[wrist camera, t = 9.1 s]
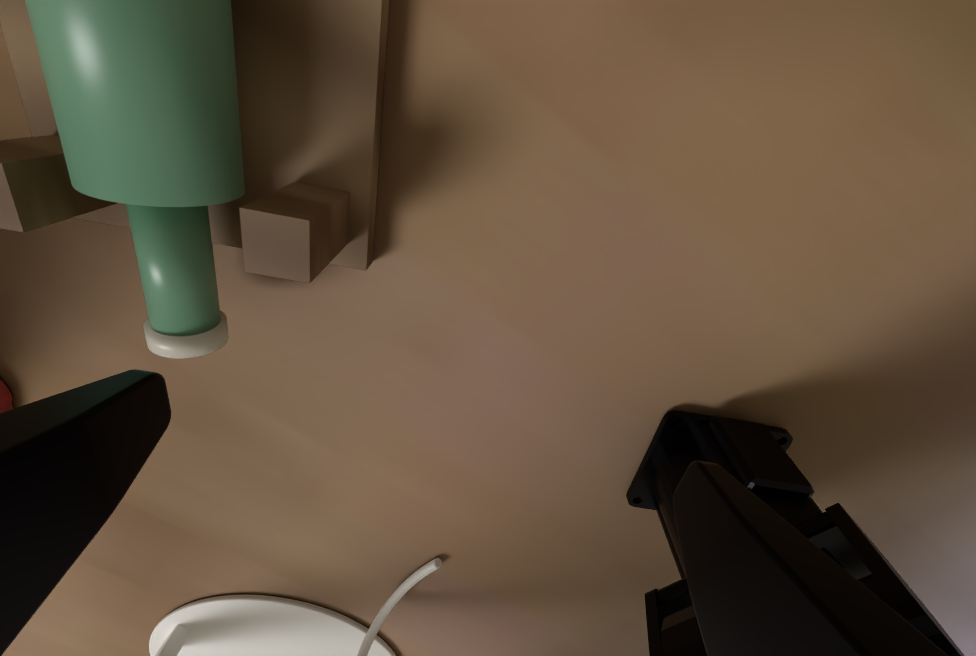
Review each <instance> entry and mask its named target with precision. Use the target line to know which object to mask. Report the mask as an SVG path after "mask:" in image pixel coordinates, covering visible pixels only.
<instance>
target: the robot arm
mask: <svg viewBox="0 0 976 656" xmlns="http://www.w3.org/2000/svg"><path fill="white" fill-rule="evenodd" d="M170 419H171V408H170V403H169V398H168V393H167V388H166V383H165V379H164V378H163V376H162V375H161V374H158V373H155V372H149V371H143V370H129V371H126V372H123V373H120V374H117V375H114V376H111V377H108V378H105V379H102V380H99V381H96V382H93V383H90V384H87V385H84V386H81V387H78V388H75V389H72V390H69V391H66V392H63V393H59V394H56V395H53V396H50V397H47V398H44V399H41V400H38V401H35V402H32V403H29V404H26V405H23V406H20V407H17V408H14V409H11V410H8V411H5V412H2V413H0V656H2V654H3V653H4V652H5V650H6V649H7V648H8V647H9V645H10V644H11V643H12V641H13V640H14V639H15V638H16V636H17V635H18V634H19V633H20V631H21V630H22V629H23V627H24V626H25V625H26V624H27V622H28V621H29V620H30V618H31V617H32V616H33V615H34V613H35V612H36V611H37V609H38V608H39V607H40V606H41V604H42V603H43V602H44V601H45V599H46V598H47V597H48V595H49V594H50V593H51V592H52V590H53V589H54V588H55V586H56V585H57V584H58V583H59V581H60V580H61V579H62V577H63V576H64V575H65V574H66V572H67V571H68V570H69V568H70V567H71V566H72V565H73V563H74V562H75V561H76V560H77V558H78V557H79V556H80V554H81V553H82V552H83V551H84V549H85V548H86V547H87V545H88V544H89V543H90V542H91V540H92V539H93V538H94V536H95V535H96V534H97V533H98V531H99V530H100V529H101V527H102V526H103V525H104V524H105V522H106V521H107V519H108V518H109V517H110V515H111V514H112V513H113V511H114V510H115V509H116V507H117V506H118V504H119V503H120V501H121V500H122V498H123V497H124V495H125V494H126V492H127V490H128V489H129V487H130V486H131V484H132V483H133V481H134V479H135V478H136V476H137V475H138V473H139V472H140V470H141V468H142V467H143V465H144V464H145V462H146V460H147V459H148V457H149V456H150V454H151V453H152V451H153V449H154V448H155V446H156V445H157V443H158V442H159V440H160V438H161V437H162V435H163V434H164V432H165V431H166V429H167V427H168V425H169V423H170ZM673 420H677V421H675V422H672V421H673ZM779 438H780V439H779ZM792 440H793V439H792V436H791V435H790V434H789V433H788V431H787V430H786V429H783V428H778V427H772V426H766V425H764V424H760V423H754V422H748V421H742V420H736V419H730V418H724V417H719V416H717V417H713V416H707V415H701V414H695V413H689V412H683V411H677V410H673V411H669V412H668V413H666V414H665V415H664V416H663V418H662V420H661V423H660V425H659V427H658V429H657V431H656V433H655V435H654V437H653V439H652V441H651V443H650V446H649V448H648V450H647V452H646V454H645V456H644V458H643V460H642V462H641V464H640V466H639V469H638V471H637V473H636V475H635V477H634V479H633V481H632V483H631V485H630V487H629V490H628V492H627V494H626V497H627V500H628V503H629V504H630V505H631V506H634V507H639V508H646V509H653V510H657V513H658V516H659V518H660V521H661V524H662V527H663V529H664V532H665V535H666V537H667V540H668V543H669V546H670V548H671V551H672V554H673V557H674V559H675V562H676V565H677V568H678V570H679V573H680V576H681V578H682V579H681V580H679V581H677V582H674V583H672V584H670V585H668V586H666V587H664V588H662V589H659V590H657V589H654V590H652V591H650V592H647V593H645V604H646V617H647V629H648V641H649V654H650V656H964V654H963V653H962V652H961V651H960V649H959V648H958V647H957V646H956V644H955V643H954V642H953V640H952V639H951V638H950V637H949V635H948V634H947V633H946V632H945V630H944V629H943V628H942V626H941V625H940V624H939V623H938V621H937V620H936V619H935V618H934V616H933V615H932V614H931V613H930V611H929V610H928V609H927V608H926V607H925V605H924V604H923V603H922V602H921V600H920V599H919V598H918V597H917V596H916V594H915V593H914V592H913V591H912V589H911V588H910V587H909V586H908V585H907V583H906V582H905V581H904V580H903V579H902V577H901V576H900V575H899V574H898V572H897V571H896V570H895V569H894V568H893V566H892V565H891V564H890V563H889V561H888V560H887V559H886V558H885V557H884V556H883V554H882V553H881V552H880V551H879V550H878V548H877V547H876V546H875V545H874V544H873V543H872V541H871V540H870V539H869V538H868V537H867V536H866V534H865V533H864V532H863V531H862V530H861V529H860V527H859V526H858V525H857V524H856V523H855V522H854V520H853V519H852V518H851V517H850V516H849V514H848V513H847V512H846V511H845V510H844V509H843V507H842V506H841V505H840V504H839V503H836V504H834V505H832V506H830V507H828V508H826V509H825V510H826V512H824V513H822V511H821V510H820V509H819V507H818V506H817V505H816V503H815V502H814V501H813V499H812V498H811V496H812V495H813V493H814V490H813V488H812V486H811V484H810V483H809V482H808V481H807V479H806V478H805V477H804V475H803V474H802V473H801V471H800V470H799V469H798V468H797V466H796V465H795V464H794V462H793V461H792V460H791V459H790V457H789V456H788V455H787V453H786V450H787V449H788V447H789V446H790V444H791V443H792ZM636 497H637V498H636Z"/></svg>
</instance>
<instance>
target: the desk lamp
mask: <svg viewBox="0 0 976 656" xmlns="http://www.w3.org/2000/svg"><path fill="white" fill-rule="evenodd" d="M441 566H442V561H441V559H440V558H435V559H433V560H432V561H430V562H428V563H427V564H425V565H423V566H422V567H421V568H419V569H418V570H416V571H415V572H414V573H413V574H412V575H410V576H409V577H408V578H407V579H406V580H405V581H404V582H403V583H402V584H401V585H400V586H399V587H398V588H397V589H396V590H395V591H394V592H393V593H392V595H391V596H390V597H389V598H388V600H387V601H386V602H385V604H384V605H383V606H382V608H381V609H380V611H379V612H378V614H377V616H376V617H375V619H374V621H373V622H372V624H371V626H370V628H369V629H368V628H366V627H365V626H363V625H361V624H360V623H358V622H356V621H354V620H352V619H350V618H348V617H346V616H344V615H342V614H339V613H337V612H334V611H332V610H329V609H326V608H323V607H320V606H317V605H314V604H310V603H306V602H302V601H298V600H293V599H288V598H282V597H274V596H265V595H225V596H217V597H211V598H205V599H201V600H198V601H194V602H191V603H189V604H186V605H184V606H181V607H179V608H178V609H176V610H174V611H172V612H171V613H169V614H168V615H167V616H165V617H164V618H163V619H162V620H161V621H160V622H159V623H158V624H157V626H156V627H155V629H154V630H153V632H152V635H151V638H150V642H149V651H150V655H151V656H396V654H395V653H394V652H393V650H392V649H391V648H390V647H389V646H388V644H387V643H386V642H384V641H383V640H382V639H381V638H380V637H379V636H378V635H377V633H378V631H379V629H380V627H381V626H382V624H383V622H384V621H385V619H386V617H387V616H388V614H389V613H390V611H391V610H392V609H393V607H394V606H395V605H396V604H397V602H398V601H399V600H400V599H401V598H402V597H403V595H404V594H405V593H406V592H407V591H408V590H409V589H410V588H412V587H413V586H414V585H415V584H416V583H417V582H419V581H420V580H421V579H422V578H424V577H425V576H427V575H428V574H430V573H431V572H433V571H435V570H437V569H439V568H441Z"/></svg>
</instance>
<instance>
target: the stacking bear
mask: <svg viewBox="0 0 976 656" xmlns="http://www.w3.org/2000/svg"><path fill="white" fill-rule="evenodd" d="M11 409H13V406H12V395H11V393H10V391H9V389H8V388H7V386H6V385H5V384H4V382H3V381H2V380H1V379H0V413H2V412H5V411H8V410H11Z"/></svg>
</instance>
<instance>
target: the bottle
mask: <svg viewBox="0 0 976 656" xmlns="http://www.w3.org/2000/svg"><path fill="white" fill-rule="evenodd" d="M25 3H26V6H27V10H28V14H29V18H30V22H31V26H32V30H33V34H34V38H35V42H36V46H37V50H38V54H39V58H40V62H41V66H42V70H43V73H44V77H45V81H46V85H47V89H48V93H49V97H50V101H51V105H52V109H53V113H54V117H55V121H56V125H57V129H58V133H59V137H60V140H61V144H62V148H63V152H64V156H65V160H66V164H67V168H68V172H69V176H70V180H71V184H72V186H73V188H74V189H76V190H77V191H79V192H80V193H82V194H85V195H88V196H90V197H94V198H97V199H101V200H106V201H111V202H117V203H123V204H126V207H127V212H128V217H129V222H130V227H131V232H132V237H133V242H134V247H135V252H136V257H137V262H138V267H139V272H140V277H141V282H142V287H143V292H144V297H145V302H146V307H147V312H148V316H149V317H148V318H147V319H146V320H145V321H144V324H143V327H144V331H145V336H146V341H147V346H148V348H149V350H150V351H151V352H153V353H155V354H157V355H159V356H163V357H168V358H192V357H198V356H202V355H206V354H209V353H212V352H214V351H216V350H218V349H220V348H221V347H222V346H224V345H225V344H226V342H227V341H228V338H229V335H228V326H227V317H226V315H225V314H224V313H223V312H222V311H220V308H219V300H218V291H217V282H216V273H215V265H214V256H213V247H212V239H211V230H210V221H209V212H208V205H215V204H221V203H226V202H230V201H233V200H236V199H238V198H240V197H241V196H243V195H244V193H245V185H244V171H243V157H242V144H241V130H240V117H239V103H238V90H237V76H236V63H235V49H234V36H233V22H232V9H231V0H25Z"/></svg>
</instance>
